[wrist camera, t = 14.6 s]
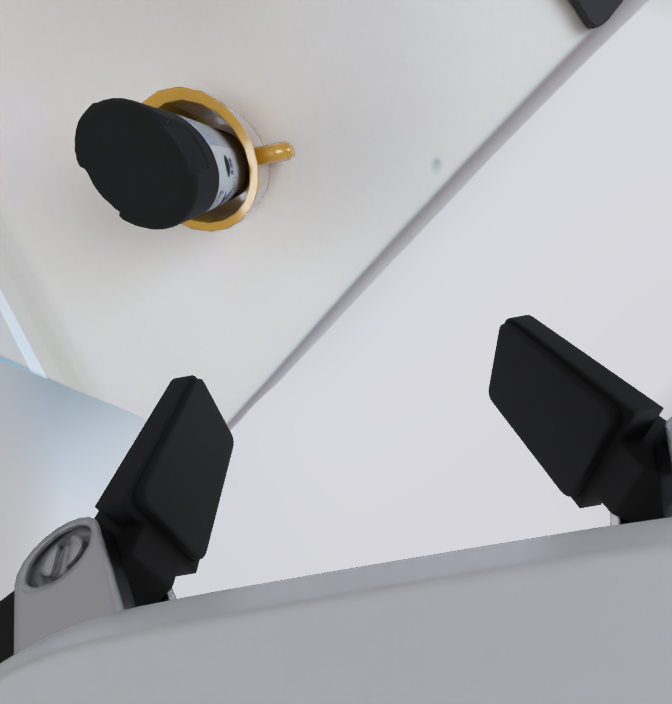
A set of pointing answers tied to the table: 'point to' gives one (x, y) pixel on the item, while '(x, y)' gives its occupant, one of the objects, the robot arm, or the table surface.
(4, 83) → the table surface
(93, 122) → the spray can
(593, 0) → the phone
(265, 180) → the mug
